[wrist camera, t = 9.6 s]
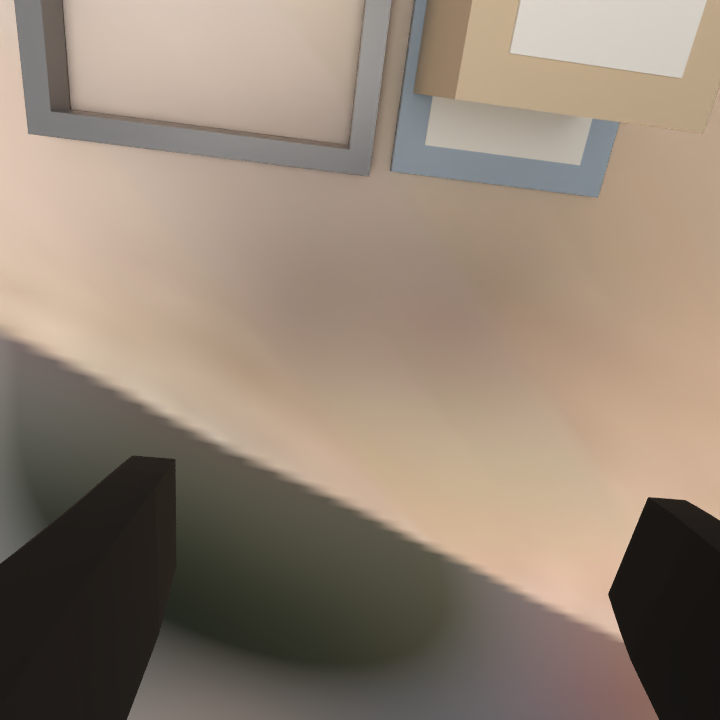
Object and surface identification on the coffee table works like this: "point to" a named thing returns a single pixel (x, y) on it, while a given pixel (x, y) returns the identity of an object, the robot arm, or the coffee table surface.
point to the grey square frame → (55, 119)
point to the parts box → (577, 57)
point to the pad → (496, 138)
